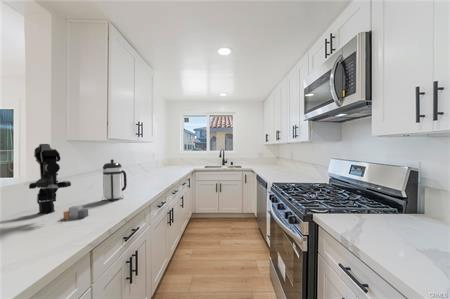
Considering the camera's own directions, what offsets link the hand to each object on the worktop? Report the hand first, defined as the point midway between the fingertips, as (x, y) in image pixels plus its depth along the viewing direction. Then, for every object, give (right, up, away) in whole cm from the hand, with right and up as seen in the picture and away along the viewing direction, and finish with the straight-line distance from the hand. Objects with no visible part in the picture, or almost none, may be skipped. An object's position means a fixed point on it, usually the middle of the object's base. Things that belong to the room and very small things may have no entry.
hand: (50, 200), depth 131 cm
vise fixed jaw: (+17, -10, +1) cm, 20 cm away
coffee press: (+13, -9, +47) cm, 50 cm away
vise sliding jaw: (+9, -10, +1) cm, 14 cm away
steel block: (+13, -10, +1) cm, 16 cm away
